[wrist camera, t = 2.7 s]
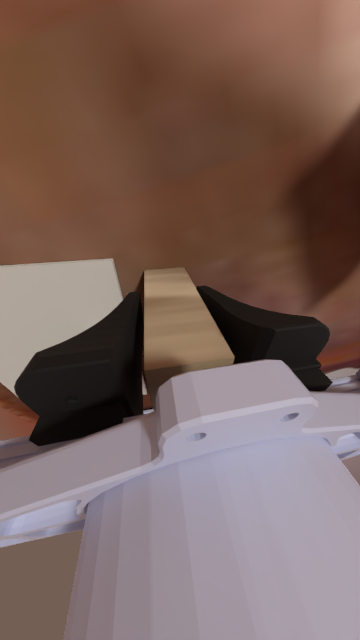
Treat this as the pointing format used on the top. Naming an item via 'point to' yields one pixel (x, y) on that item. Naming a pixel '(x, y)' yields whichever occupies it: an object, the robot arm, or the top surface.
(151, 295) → the stick
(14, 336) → the mat
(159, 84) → the top surface
